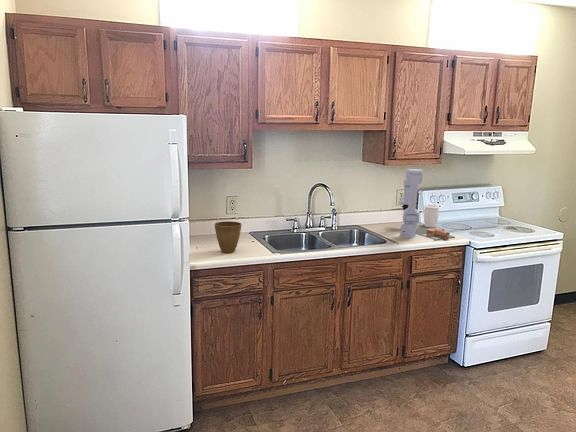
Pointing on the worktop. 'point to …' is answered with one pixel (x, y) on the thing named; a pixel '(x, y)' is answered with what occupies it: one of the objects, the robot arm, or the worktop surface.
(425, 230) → the mat
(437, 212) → the jar
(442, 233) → the t block
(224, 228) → the plant pot
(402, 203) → the robot arm
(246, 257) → the worktop surface
